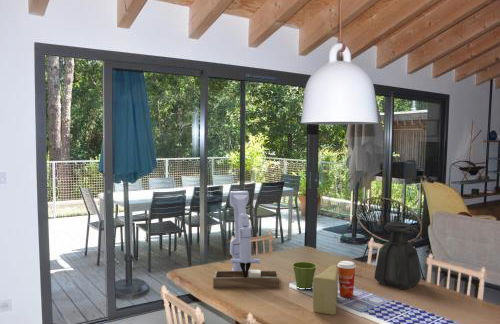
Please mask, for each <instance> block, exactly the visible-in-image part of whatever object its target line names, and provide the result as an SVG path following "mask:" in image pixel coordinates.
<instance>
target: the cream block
mask: <svg viewBox="0 0 500 324" xmlns="http://www.w3.org/2000/svg"><path fill="white" fill-rule="evenodd" d="M261 271H262V270H261V269H249V272H248V278H261Z"/></svg>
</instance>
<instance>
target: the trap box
mask: <svg viewBox="0 0 500 324" xmlns="http://www.w3.org/2000/svg"><path fill="white" fill-rule="evenodd" d="M248 272H249V271H248ZM245 274H246V271H245ZM212 278H213V279H212V281H213V282H212V283H213V284H212V285H213V288H280V274H279V270H261V278H248V274H247V278H244V274H243V271H232V270H215V271H214V275H213V277H212Z"/></svg>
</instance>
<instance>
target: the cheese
mask: <svg viewBox="0 0 500 324" xmlns="http://www.w3.org/2000/svg"><path fill="white" fill-rule="evenodd" d="M337 265H338V264H332V265H330V266H328V267H327V268H326V269H325V270H323V272H320V273H318V274H316V275H314V278H313V284H312V307H313V308H312V309H313V312H314V313H319V314H324V315H325V314H326V315H331V316H332V315H333V316H334V315H336V313H337V301H338V295H339V277H338V276H339V275H338V266H337Z"/></svg>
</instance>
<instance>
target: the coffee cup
mask: <svg viewBox="0 0 500 324" xmlns="http://www.w3.org/2000/svg"><path fill="white" fill-rule="evenodd" d="M336 265H337V270H338V275H337V276H338V293H339V296H340V295H341V296H340V297H342V296H343V297H342V298H346V297H350V298H352V296H353V297H354V290H355V289H354V288H355V285H354V284H355V272H356V271H355V270H356V268H357V265H356V264H355V262H353V261H350V260H340V261H339V262H338V263H337V264H336Z"/></svg>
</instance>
